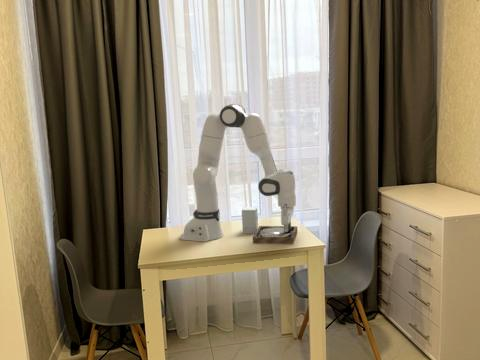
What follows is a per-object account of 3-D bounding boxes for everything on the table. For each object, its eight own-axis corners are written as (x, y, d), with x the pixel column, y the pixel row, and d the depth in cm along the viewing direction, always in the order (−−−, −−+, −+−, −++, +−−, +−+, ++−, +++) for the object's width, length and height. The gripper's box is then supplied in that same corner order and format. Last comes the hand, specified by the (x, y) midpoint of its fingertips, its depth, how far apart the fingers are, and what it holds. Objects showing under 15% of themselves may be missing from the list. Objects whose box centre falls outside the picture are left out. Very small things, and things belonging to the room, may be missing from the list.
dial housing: (252, 243, 242) (252, 236, 241) (259, 231, 261) (259, 225, 260) (293, 243, 238) (293, 237, 237) (297, 231, 257) (297, 225, 256)
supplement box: (256, 233, 258) (255, 210, 255) (242, 233, 259) (241, 210, 257) (258, 229, 265) (257, 206, 263) (245, 229, 266) (243, 206, 264)
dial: (256, 239, 244) (255, 226, 243) (264, 230, 259) (264, 217, 258) (287, 240, 239) (287, 227, 238) (294, 231, 254) (294, 218, 253)
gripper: (290, 207, 234) (291, 235, 236) (295, 197, 254) (296, 223, 256) (277, 207, 235) (278, 234, 238) (283, 197, 255) (283, 223, 257)
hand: (287, 228), depth 247 cm, fingers open, 8 cm apart
